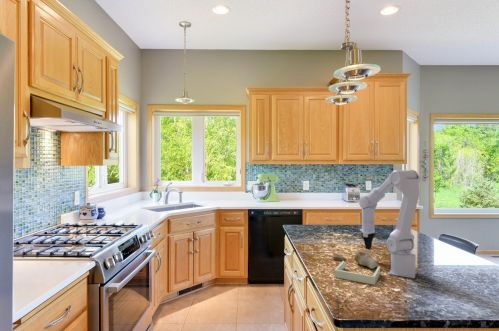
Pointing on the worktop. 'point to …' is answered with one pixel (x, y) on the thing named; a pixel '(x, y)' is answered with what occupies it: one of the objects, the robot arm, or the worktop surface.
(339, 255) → the walnut tile
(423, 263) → the worktop surface
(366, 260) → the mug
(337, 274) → the beige u-shaped block
